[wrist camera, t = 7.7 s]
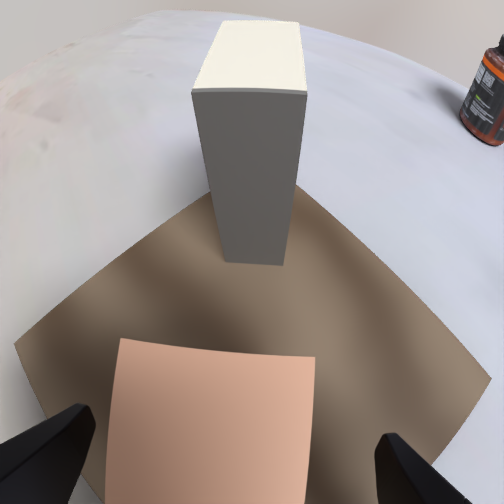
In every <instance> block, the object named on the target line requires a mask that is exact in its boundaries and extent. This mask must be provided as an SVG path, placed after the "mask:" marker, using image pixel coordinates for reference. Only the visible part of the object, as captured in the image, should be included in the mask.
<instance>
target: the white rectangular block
mask: <svg viewBox="0 0 504 504" xmlns="http://www.w3.org/2000/svg"><path fill="white" fill-rule="evenodd" d="M191 95H192V100H193V106H194V111H195V116H196V121H197V127H198V132H199V137H200V142H201V147H202V152H203V157H204V162H205V167H206V172H207V177H208V182H209V187H210V192H211V197H212V201H213V206H214V211H215V216H216V220H217V225H218V230H219V234H220V239H221V244H222V248H223V253H224V257H225V262H228V263H244V264H260V265H277V266H283V264H284V258H285V251H286V245H287V239H288V232H289V226H290V219H291V213H292V206H293V199H294V192H295V185H296V178H297V171H298V164H299V157H300V149H301V142H302V134H303V126H304V118H305V110H306V102H307V87H306V77H305V68H304V59H303V51H302V43H301V35H300V28H299V23H298V22H285V21H258V20H238V21H223V22H222V24H221V26H220V28H219V31H218V33H217V35H216V37H215V39H214V41H213V43H212V45H211V48H210V50H209V52H208V54H207V56H206V59H205V61H204V63H203V65H202V68H201V70H200V72H199V75H198V77H197V79H196V82H195V84H194V87H193V89H192V92H191Z"/></svg>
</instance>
